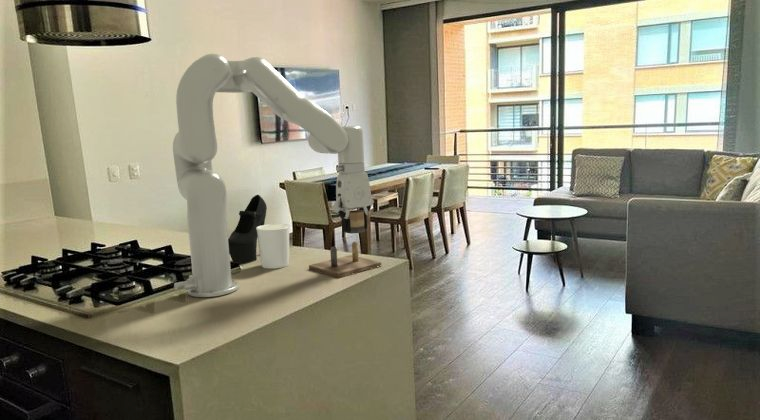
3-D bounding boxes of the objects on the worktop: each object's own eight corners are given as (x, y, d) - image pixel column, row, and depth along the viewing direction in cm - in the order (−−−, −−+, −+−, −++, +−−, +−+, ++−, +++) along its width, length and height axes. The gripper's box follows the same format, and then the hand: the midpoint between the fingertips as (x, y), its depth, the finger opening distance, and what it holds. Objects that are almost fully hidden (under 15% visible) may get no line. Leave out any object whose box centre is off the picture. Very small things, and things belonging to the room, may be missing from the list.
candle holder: (284, 269, 161) (282, 229, 159) (253, 269, 163) (250, 229, 161) (296, 261, 171) (294, 223, 169) (266, 261, 173) (264, 223, 171)
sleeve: (353, 234, 158) (352, 213, 157) (341, 231, 162) (340, 212, 161) (368, 230, 162) (367, 210, 161) (356, 228, 166) (355, 209, 165)
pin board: (338, 277, 151) (337, 252, 150) (309, 269, 161) (307, 245, 160) (381, 266, 161) (380, 242, 160) (351, 258, 171) (350, 236, 170)
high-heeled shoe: (222, 265, 169) (216, 201, 166) (257, 251, 186) (253, 193, 183) (243, 267, 166) (238, 202, 163) (277, 253, 183) (273, 193, 180)
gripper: (336, 172, 151) (340, 236, 154) (382, 166, 162) (384, 226, 165) (320, 171, 156) (323, 233, 159) (365, 166, 168) (368, 223, 171)
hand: (354, 229), depth 162 cm, fingers closed on sleeve, 5 cm apart
